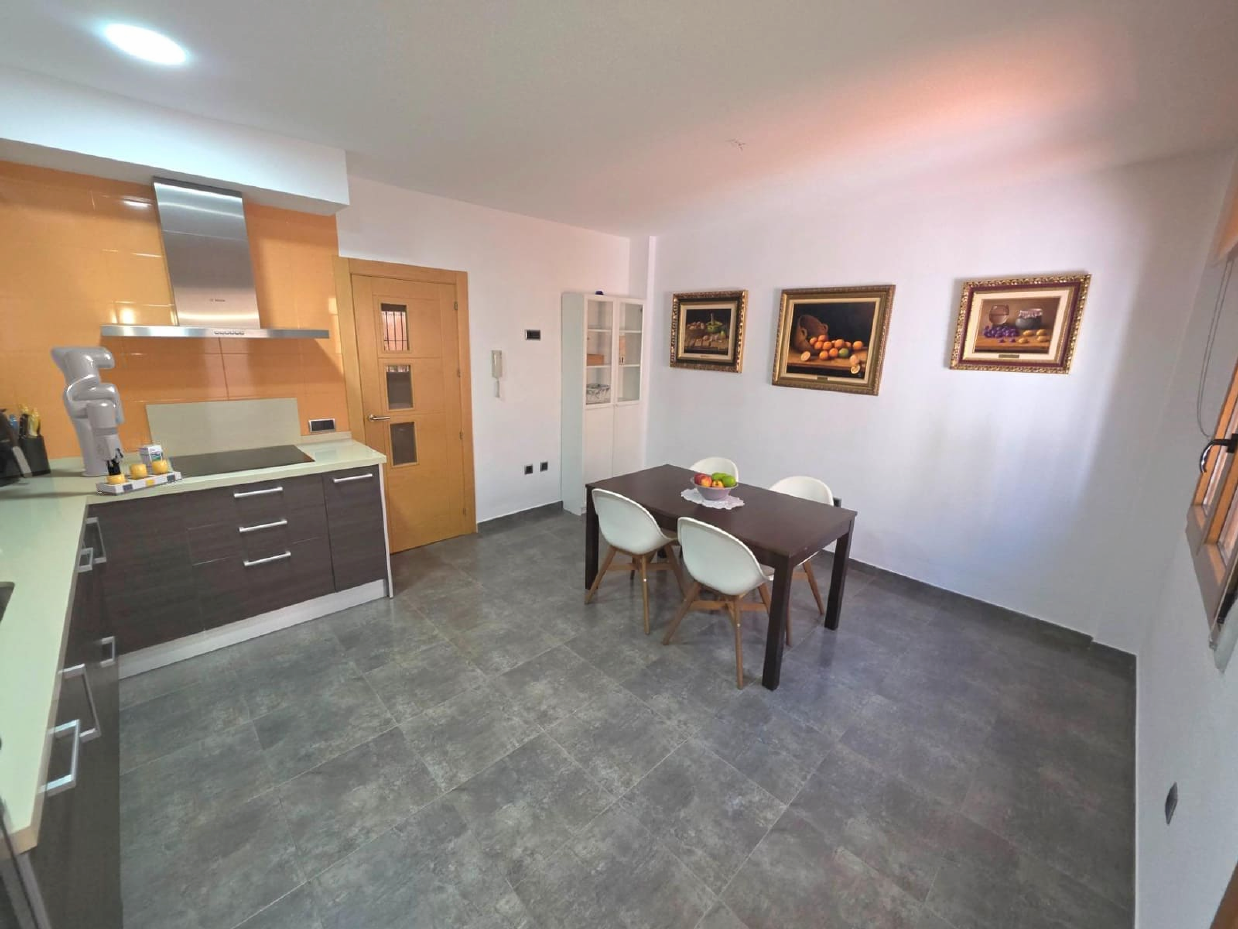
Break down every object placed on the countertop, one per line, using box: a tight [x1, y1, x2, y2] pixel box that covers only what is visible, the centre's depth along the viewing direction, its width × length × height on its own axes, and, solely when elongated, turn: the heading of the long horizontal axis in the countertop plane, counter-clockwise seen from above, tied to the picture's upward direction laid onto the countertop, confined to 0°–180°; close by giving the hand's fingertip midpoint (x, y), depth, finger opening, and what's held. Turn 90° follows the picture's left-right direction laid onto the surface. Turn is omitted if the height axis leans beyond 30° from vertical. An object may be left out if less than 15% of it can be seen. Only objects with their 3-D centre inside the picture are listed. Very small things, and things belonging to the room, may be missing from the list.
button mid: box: [128, 463, 148, 480], centre depth 213 cm, size 5×5×6 cm
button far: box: [150, 459, 169, 476], centre depth 221 cm, size 5×5×6 cm
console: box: [95, 470, 183, 497], centre depth 214 cm, size 12×24×4 cm, turn 164°
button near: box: [106, 472, 126, 485], centre depth 206 cm, size 5×5×6 cm
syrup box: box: [137, 444, 165, 473], centre depth 230 cm, size 6×6×14 cm
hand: (115, 475), depth 206 cm, fingers closed
